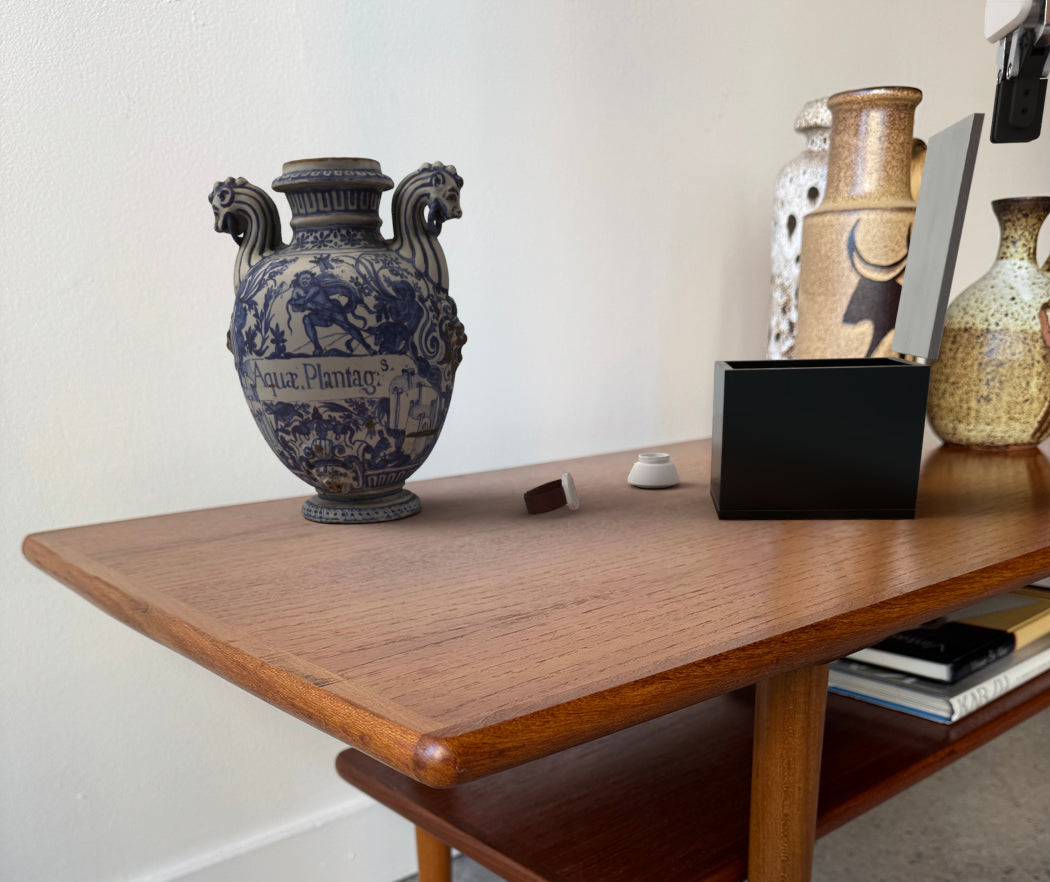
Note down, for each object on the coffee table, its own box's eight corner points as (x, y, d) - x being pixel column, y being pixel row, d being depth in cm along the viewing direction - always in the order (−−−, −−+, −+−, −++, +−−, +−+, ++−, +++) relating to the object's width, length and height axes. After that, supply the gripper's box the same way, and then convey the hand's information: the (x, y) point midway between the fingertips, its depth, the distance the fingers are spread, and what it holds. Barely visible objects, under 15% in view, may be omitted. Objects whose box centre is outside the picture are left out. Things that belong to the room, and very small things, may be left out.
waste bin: (718, 520, 86) (724, 370, 81) (709, 493, 97) (714, 360, 93) (914, 518, 84) (931, 365, 80) (881, 491, 96) (894, 356, 91)
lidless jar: (640, 480, 105) (619, 488, 101) (641, 450, 104) (619, 457, 100) (687, 483, 103) (667, 491, 99) (687, 452, 102) (667, 459, 98)
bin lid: (973, 112, 73) (985, 113, 73) (928, 137, 85) (938, 138, 85) (926, 359, 80) (937, 359, 79) (890, 351, 91) (899, 351, 91)
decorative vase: (203, 534, 86) (150, 154, 76) (286, 494, 103) (251, 180, 93) (455, 535, 83) (435, 139, 73) (497, 494, 100) (485, 168, 90)
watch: (570, 520, 87) (569, 476, 86) (515, 519, 88) (514, 476, 87) (584, 503, 94) (584, 463, 93) (533, 503, 95) (532, 462, 94)
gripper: (1159, -206, 65) (1106, 125, 72) (1069, -118, 79) (1031, 152, 86) (1034, -198, 66) (993, 129, 73) (966, -112, 80) (937, 155, 87)
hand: (1014, 141), depth 79 cm, fingers closed
